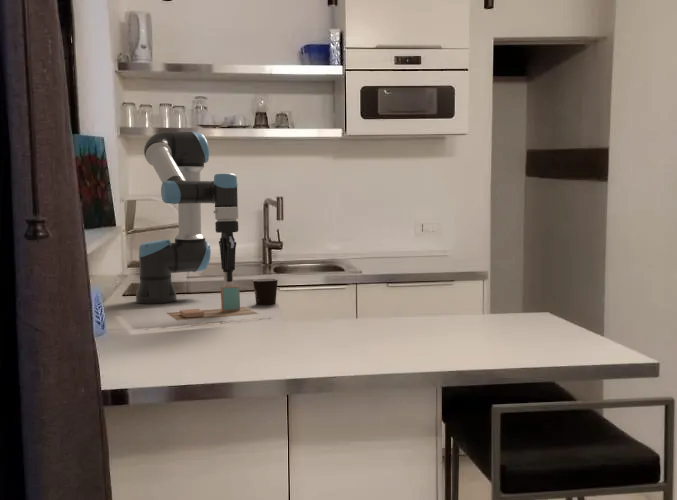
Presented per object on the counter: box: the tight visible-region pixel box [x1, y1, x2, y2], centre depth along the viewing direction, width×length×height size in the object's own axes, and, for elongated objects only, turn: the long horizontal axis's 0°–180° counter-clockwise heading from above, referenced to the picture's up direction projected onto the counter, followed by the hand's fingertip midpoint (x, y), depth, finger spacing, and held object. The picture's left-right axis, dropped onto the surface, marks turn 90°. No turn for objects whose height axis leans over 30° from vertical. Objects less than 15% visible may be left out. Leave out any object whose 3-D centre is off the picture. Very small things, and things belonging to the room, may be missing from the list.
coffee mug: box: [252, 278, 278, 306], centre depth 251 cm, size 12×9×10 cm
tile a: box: [179, 308, 204, 318], centre depth 225 cm, size 2×6×8 cm
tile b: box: [220, 285, 241, 311], centre depth 235 cm, size 2×6×8 cm, turn 114°
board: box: [166, 306, 259, 325], centre depth 230 cm, size 17×26×2 cm, turn 114°
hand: (228, 291), depth 237 cm, fingers closed
